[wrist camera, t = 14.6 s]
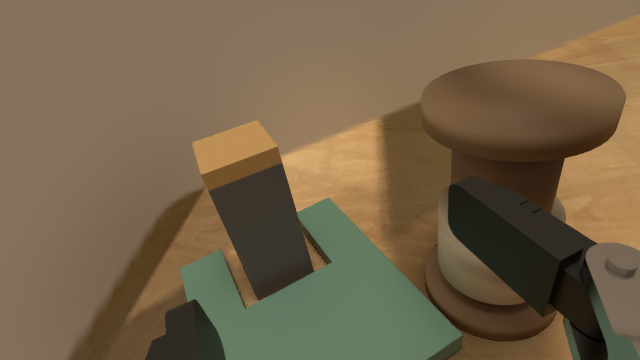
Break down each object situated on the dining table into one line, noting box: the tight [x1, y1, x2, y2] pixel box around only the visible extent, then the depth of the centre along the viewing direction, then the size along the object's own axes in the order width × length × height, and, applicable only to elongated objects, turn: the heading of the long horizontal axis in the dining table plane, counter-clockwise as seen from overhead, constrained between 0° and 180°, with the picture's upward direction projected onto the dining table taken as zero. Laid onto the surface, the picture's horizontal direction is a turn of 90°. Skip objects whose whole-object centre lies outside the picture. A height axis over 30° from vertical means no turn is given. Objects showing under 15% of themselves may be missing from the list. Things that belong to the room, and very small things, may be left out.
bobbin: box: [421, 60, 626, 341], centre depth 18 cm, size 7×7×12 cm
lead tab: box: [192, 120, 314, 301], centre depth 22 cm, size 4×4×10 cm
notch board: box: [180, 198, 463, 360], centre depth 22 cm, size 12×14×1 cm
